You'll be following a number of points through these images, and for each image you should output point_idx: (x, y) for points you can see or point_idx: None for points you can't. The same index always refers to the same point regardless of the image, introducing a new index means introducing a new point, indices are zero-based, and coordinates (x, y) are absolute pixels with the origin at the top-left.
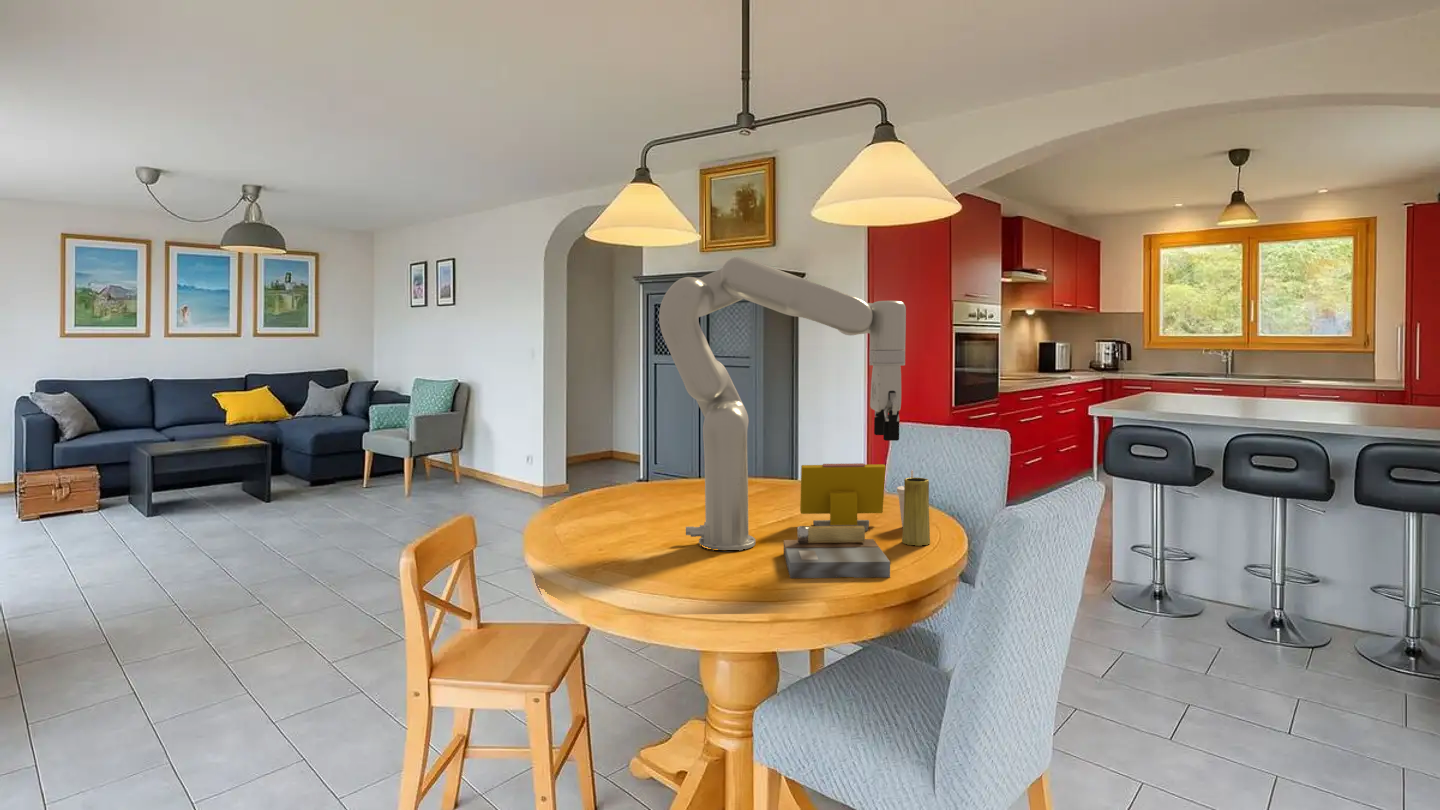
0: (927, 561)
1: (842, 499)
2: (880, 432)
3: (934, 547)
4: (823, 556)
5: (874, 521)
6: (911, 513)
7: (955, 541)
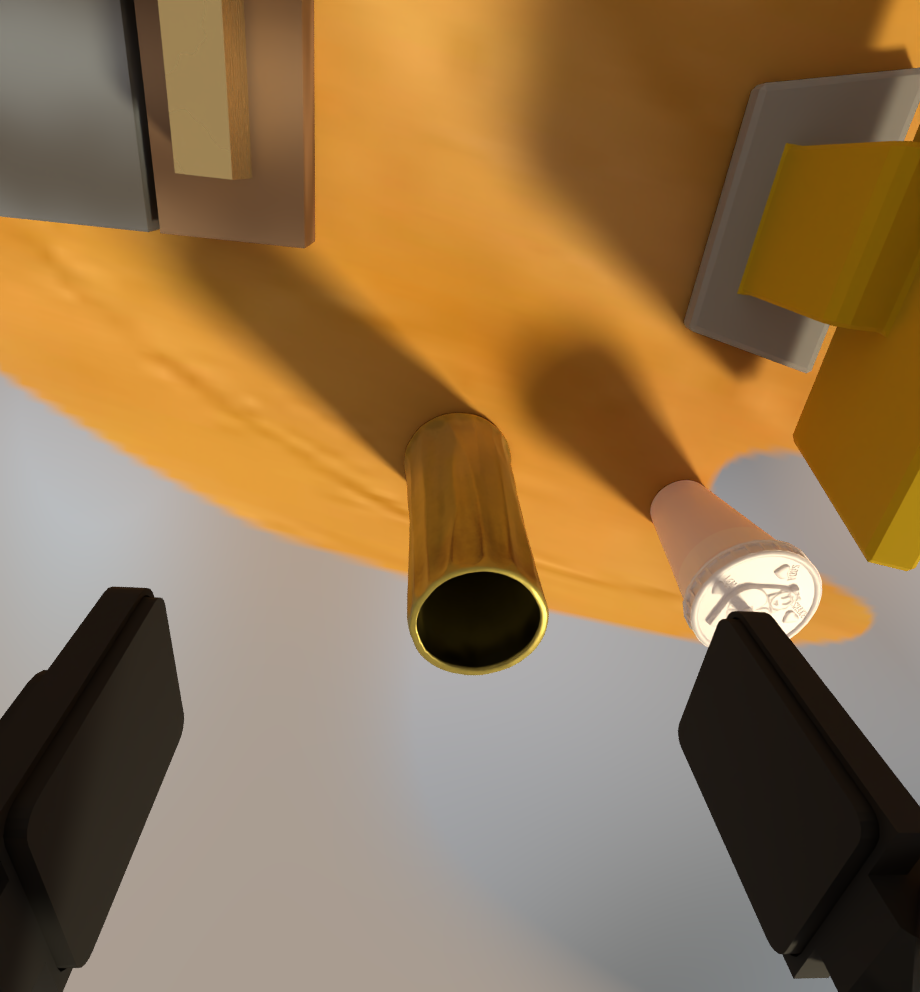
0: (192, 421)
1: (845, 225)
2: (713, 684)
3: (386, 503)
4: None
5: None
6: (422, 493)
7: None
